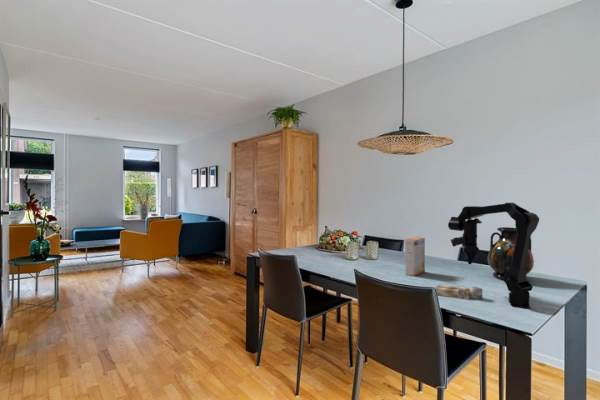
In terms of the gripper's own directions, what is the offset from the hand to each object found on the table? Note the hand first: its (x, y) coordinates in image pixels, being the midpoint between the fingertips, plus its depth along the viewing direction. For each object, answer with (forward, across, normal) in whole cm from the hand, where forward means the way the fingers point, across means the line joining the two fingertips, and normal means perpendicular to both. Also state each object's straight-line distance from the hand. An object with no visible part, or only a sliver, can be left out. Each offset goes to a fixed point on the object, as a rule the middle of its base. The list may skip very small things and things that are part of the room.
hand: (469, 264), depth 155 cm
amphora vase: (+13, -35, +22) cm, 43 cm away
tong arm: (+13, +11, -5) cm, 17 cm away
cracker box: (+13, -24, -27) cm, 38 cm away
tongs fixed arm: (+13, +13, -8) cm, 20 cm away
